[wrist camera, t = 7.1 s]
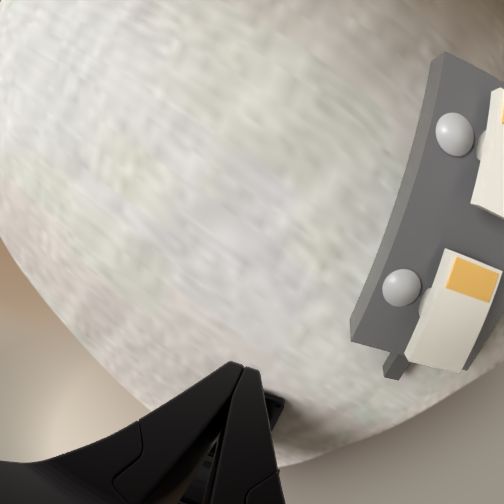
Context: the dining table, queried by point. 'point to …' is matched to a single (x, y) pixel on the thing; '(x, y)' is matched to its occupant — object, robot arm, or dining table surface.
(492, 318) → the switch panel
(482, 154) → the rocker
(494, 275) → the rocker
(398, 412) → the dining table surface
